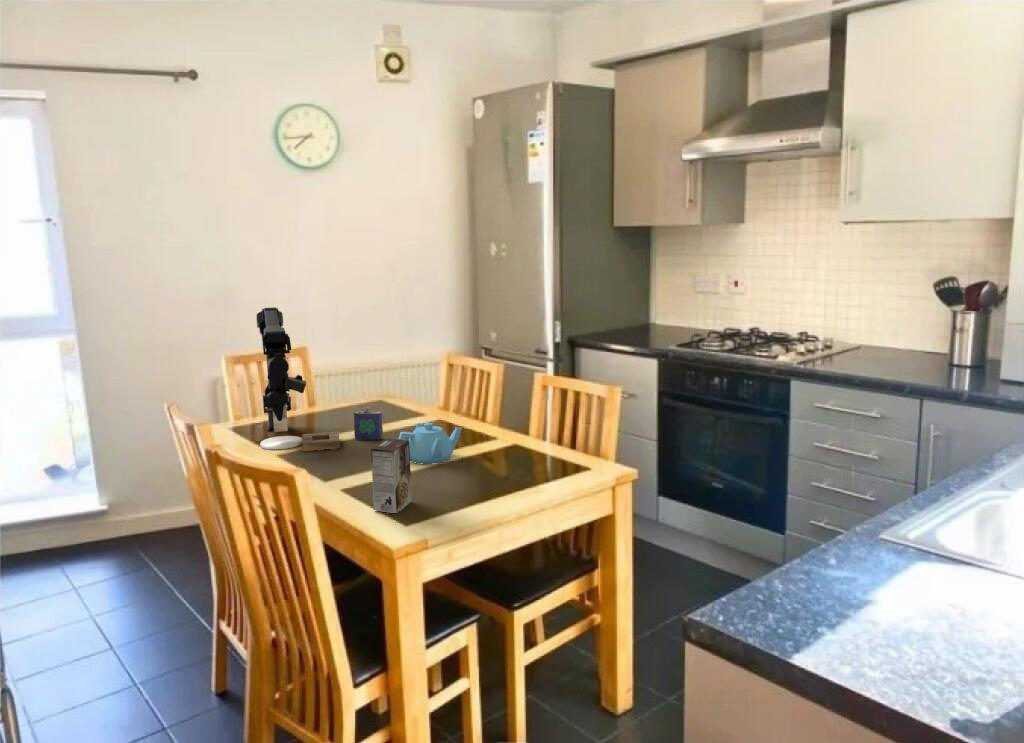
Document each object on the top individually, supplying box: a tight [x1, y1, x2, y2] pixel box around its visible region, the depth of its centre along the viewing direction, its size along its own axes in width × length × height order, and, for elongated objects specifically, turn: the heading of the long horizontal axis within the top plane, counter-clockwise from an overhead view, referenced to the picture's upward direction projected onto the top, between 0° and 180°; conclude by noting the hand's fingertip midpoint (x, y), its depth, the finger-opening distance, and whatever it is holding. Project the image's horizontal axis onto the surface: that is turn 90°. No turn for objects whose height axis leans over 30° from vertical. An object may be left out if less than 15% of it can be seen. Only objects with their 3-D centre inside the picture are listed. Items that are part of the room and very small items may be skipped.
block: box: [273, 404, 289, 433], centre depth 242 cm, size 4×4×9 cm
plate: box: [259, 435, 302, 451], centre depth 244 cm, size 13×13×1 cm
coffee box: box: [370, 437, 413, 513], centre depth 188 cm, size 9×6×16 cm
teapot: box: [398, 422, 463, 465], centre depth 227 cm, size 15×15×11 cm
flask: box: [353, 406, 384, 441], centre depth 248 cm, size 9×3×11 cm, turn 88°
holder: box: [301, 431, 341, 452], centre depth 242 cm, size 11×11×2 cm
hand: (280, 419), depth 242 cm, fingers closed on block, 4 cm apart
